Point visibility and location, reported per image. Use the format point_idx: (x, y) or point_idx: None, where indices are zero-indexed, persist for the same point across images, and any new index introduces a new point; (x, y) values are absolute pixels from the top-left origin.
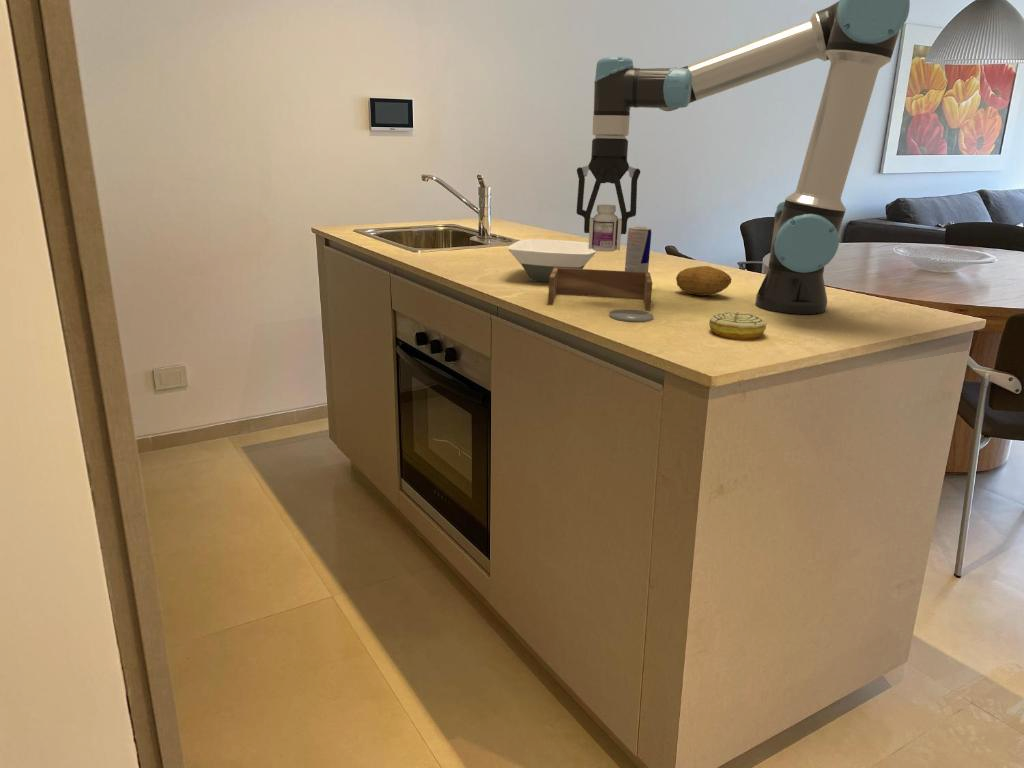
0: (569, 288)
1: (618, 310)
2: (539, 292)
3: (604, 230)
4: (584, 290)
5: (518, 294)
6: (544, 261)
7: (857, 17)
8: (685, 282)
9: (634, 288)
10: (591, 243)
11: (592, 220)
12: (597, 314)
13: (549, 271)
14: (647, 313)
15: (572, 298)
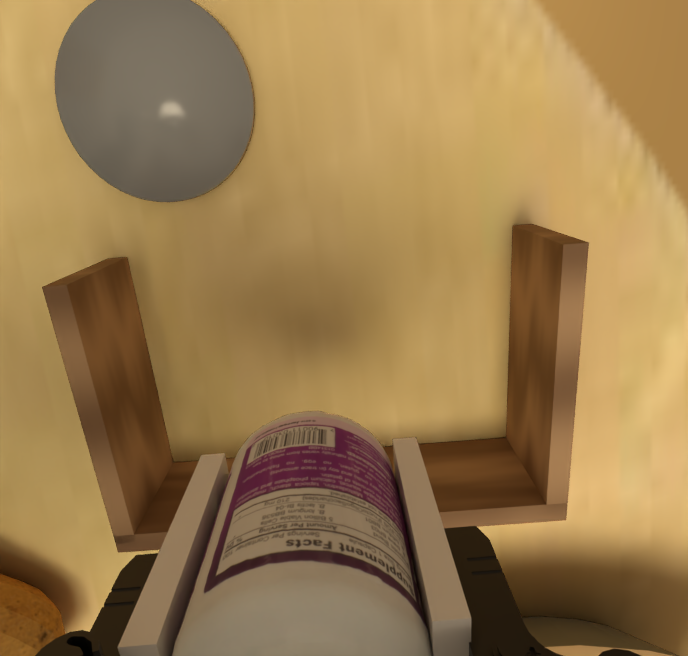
0: (463, 455)
1: (221, 161)
2: (574, 444)
3: (300, 498)
4: None
5: (657, 382)
6: None
7: None
8: (12, 603)
9: None
10: (402, 461)
11: (437, 604)
12: (307, 106)
13: (562, 635)
14: (91, 143)
15: (439, 383)
